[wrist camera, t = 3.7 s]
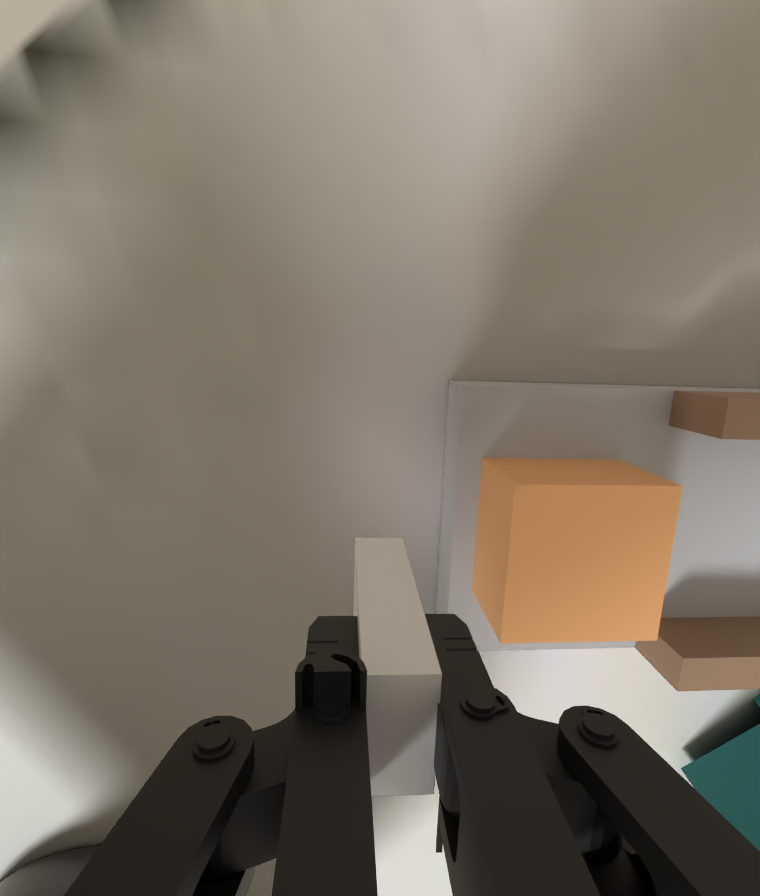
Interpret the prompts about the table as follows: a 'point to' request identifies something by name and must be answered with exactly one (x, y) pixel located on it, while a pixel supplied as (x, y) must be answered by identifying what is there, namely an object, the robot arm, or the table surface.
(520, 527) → the block
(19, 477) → the table surface
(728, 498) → the deck
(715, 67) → the table surface
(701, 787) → the teal l-shaped bracket
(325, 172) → the table surface
